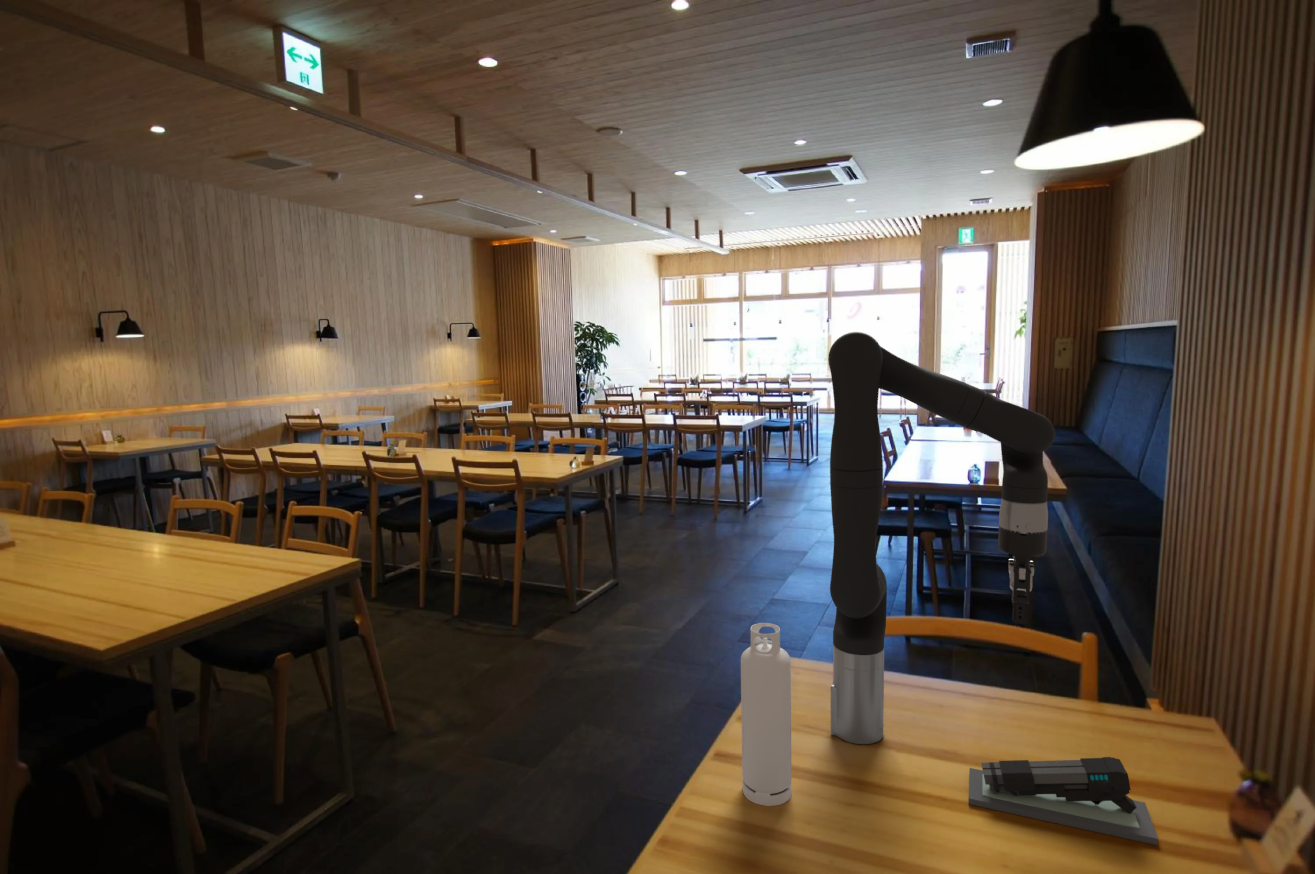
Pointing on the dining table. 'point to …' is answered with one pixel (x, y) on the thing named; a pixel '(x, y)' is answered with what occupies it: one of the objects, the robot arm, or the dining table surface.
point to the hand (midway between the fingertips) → (1019, 614)
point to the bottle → (766, 718)
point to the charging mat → (1066, 811)
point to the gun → (1063, 779)
